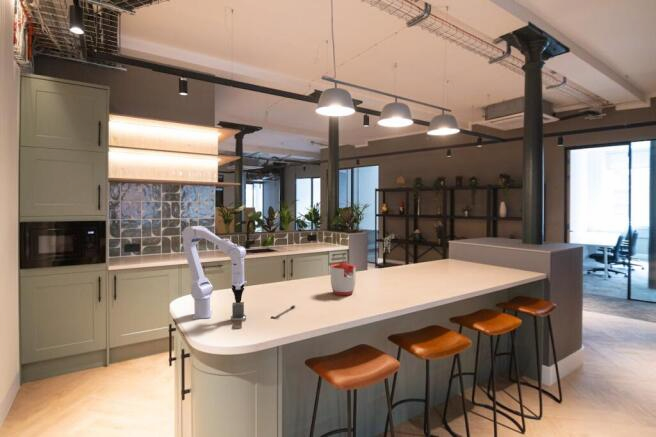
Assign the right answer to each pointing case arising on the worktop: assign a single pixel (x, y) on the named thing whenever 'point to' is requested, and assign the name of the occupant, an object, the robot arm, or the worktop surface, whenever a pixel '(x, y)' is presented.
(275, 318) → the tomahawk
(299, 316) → the worktop surface
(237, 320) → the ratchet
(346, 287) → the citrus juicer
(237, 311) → the dark grey block
